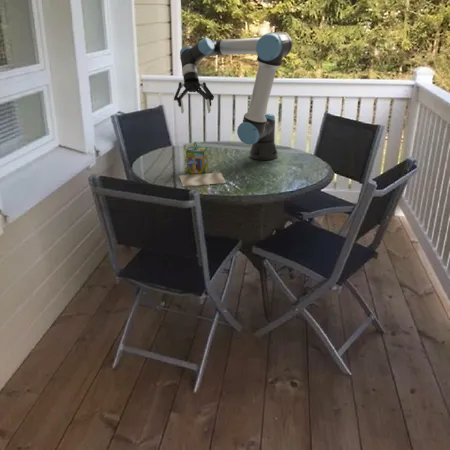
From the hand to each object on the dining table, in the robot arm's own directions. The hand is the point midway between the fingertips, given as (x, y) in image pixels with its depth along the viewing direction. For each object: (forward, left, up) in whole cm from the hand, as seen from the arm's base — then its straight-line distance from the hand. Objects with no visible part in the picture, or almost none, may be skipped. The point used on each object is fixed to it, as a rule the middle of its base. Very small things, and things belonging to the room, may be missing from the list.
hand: (196, 111), depth 254 cm
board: (+2, +26, -27) cm, 38 cm away
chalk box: (+2, +12, -28) cm, 30 cm away
